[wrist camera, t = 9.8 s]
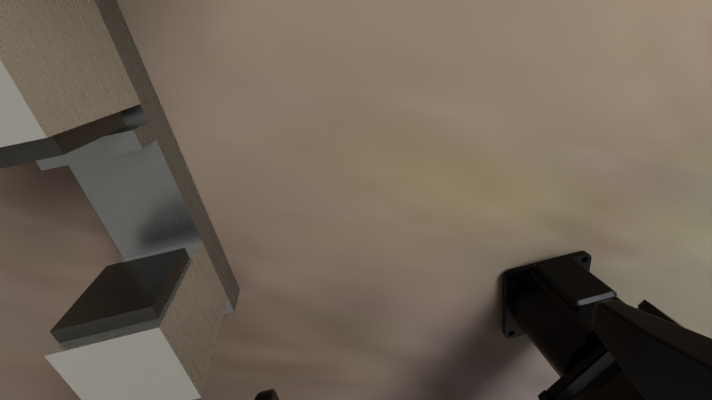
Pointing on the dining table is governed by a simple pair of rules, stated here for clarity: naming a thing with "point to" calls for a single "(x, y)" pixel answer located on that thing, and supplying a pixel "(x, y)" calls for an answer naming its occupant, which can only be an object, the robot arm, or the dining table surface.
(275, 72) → the dining table surface
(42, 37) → the block
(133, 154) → the rail
